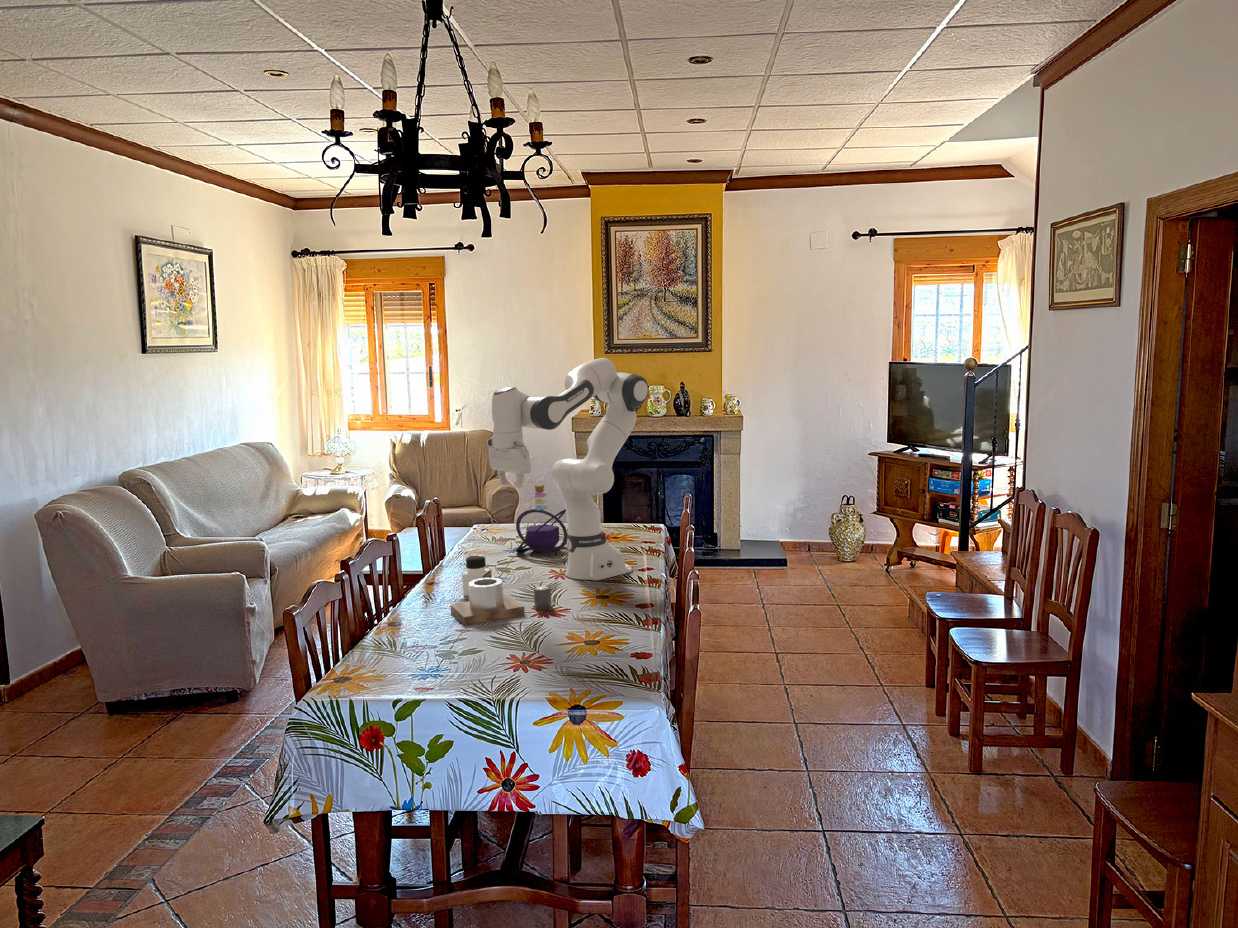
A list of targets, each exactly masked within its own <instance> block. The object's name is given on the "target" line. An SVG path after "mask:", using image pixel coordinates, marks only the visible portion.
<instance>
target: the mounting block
mask: <svg viewBox="0 0 1238 928" xmlns="http://www.w3.org/2000/svg"><path fill="white" fill-rule="evenodd" d="M503 596H504V604H503V606H502V607H500V608H497V609H493V610H484V611H479V610H473V609H471V608H470V602H469V600H468V601H463V602H457V603H453V604H450V613H451V614H452V615H453V616H454V617H455V618H456V619H457V620H458V621H459V622H460V623H462V624H463V626H465V627H466V626H470V625H475V624H480V623H481V624H482V623H486V622H493V621H496V620H497V621H498V620H503V619H508V618H513V617H519V616H525V613H526V611H525V606H524V605H523V604H522V603H520V602H519V601H518V600H516V599H515V598H513V597H512V596H511V595H510V594H503Z"/></svg>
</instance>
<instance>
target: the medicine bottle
mask: <svg viewBox="0 0 1238 928" xmlns="http://www.w3.org/2000/svg"><path fill="white" fill-rule="evenodd" d="M486 562H487V561H486V557H485V556H484V555H480V554H474V555H470V556H468V557H466V559H465V564H466V565H465V566H466V571H465V572H463V573H462V574H461V577H462V593H463V596H464V597H469V588H468V584H469V582H470V581H473V580H475V579H480V578H492V570H491V568H487V565H486Z"/></svg>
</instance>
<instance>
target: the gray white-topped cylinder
mask: <svg viewBox="0 0 1238 928" xmlns="http://www.w3.org/2000/svg"><path fill="white" fill-rule="evenodd" d="M533 599H534V609H535V610H536V611H548V610H551V609H552V606H553V605H552V590H551V586H549V585H539V586H535V587H534V588H533Z"/></svg>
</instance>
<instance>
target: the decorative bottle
mask: <svg viewBox="0 0 1238 928" xmlns="http://www.w3.org/2000/svg"><path fill="white" fill-rule="evenodd" d="M544 488H545V485H544V484H534V491H535V493H533V494H532V497H534V498H535V499H533V500H532V502H533V503H534V504H535V505H534V506H533V507H532V508H533V509H528V510H525V511H524V512H522V513H521V514H519V516H518V517H517V519H516V522H515V529H516V532H517V535H518V536H519V539H520V540H521V541H522V542H521V543H520V544H519V546H518V547H517V548H516V549H515V552H516V553H517V552H520V551H522V550H524V549H526V548H527V547H528V548H529V549H531V550H532V551H533V552H535V553H536V552H537V553H545V554H547V553H549V554H550V553H553V554H554V553H556V552H559V551H561V550H562V549H563V548H564V547H565V546H567V534H568V529H566V526H565V525H564V523H563V522H562V521H561V520H560V519H561V518H562V517H563V516H564V515H565V513H567V512H566V508H565V509H562V510H561V511H559V512H558V513H556V514H555V515H554V514H553V513H551V512H549V511H547V508H548V505H544V504H546V503H547V502H548V500H547V498H545V497H547V496H548V493H546V492H544ZM536 498H538V499H536ZM539 504H540V505H539ZM531 513H538V514H539V513H540V514H544V515H547V516H550V518H549V519H548V520H547V521H546V522H544V523H543V524H538V525H530V523H528V524H529V525H530V526H527V527H526V532H525V535H524V534H522V531H521V528H520V526H521V521H522V519H523V518H524V517H525V516H527V515H530V514H531ZM552 520H553V522H552ZM550 521H551V524H548V523H549V522H550ZM556 523H558V524H559V526H561V528H562V529H561V530H562V532H563V539H562V542H560V545H558V546H556V545H557V544H558V543H559V541H560V527H559V526H556V525H555V524H556ZM533 524H534V523H533ZM523 535H524V536H523Z"/></svg>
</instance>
